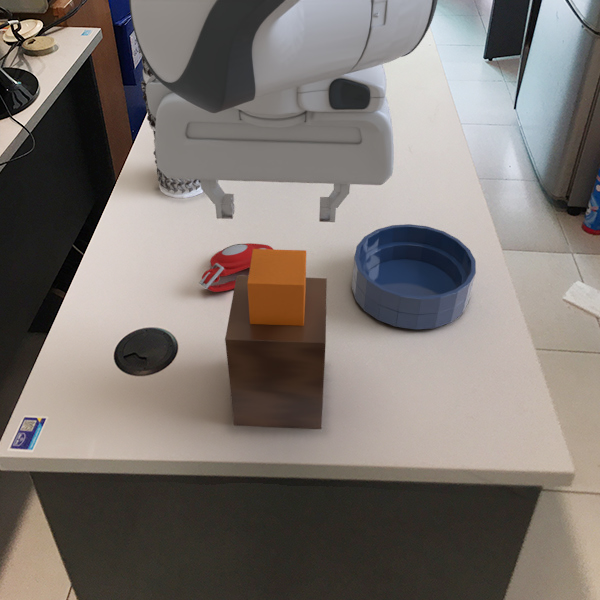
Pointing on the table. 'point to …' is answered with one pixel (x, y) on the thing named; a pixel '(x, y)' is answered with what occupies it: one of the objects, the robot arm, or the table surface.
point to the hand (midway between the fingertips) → (276, 216)
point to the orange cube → (277, 287)
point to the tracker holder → (229, 265)
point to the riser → (277, 363)
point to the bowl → (413, 276)
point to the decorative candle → (167, 185)
